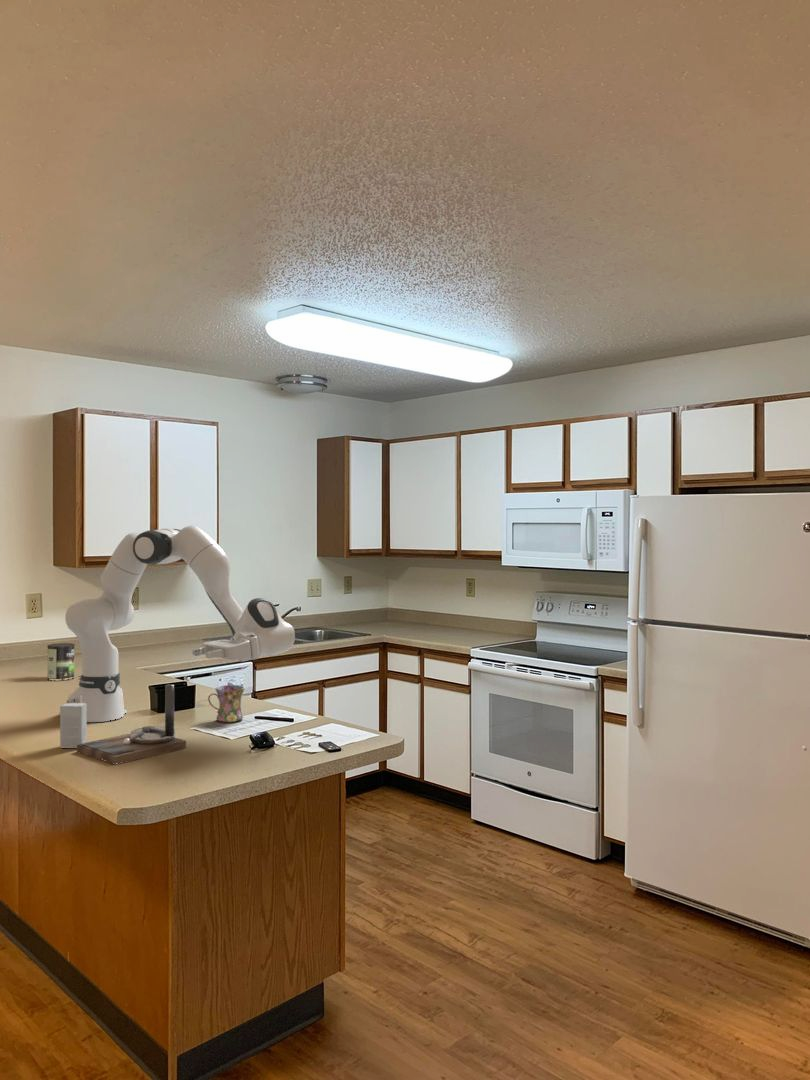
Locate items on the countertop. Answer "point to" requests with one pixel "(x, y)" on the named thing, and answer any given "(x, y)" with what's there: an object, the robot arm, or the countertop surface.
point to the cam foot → (157, 732)
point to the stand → (126, 748)
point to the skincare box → (73, 725)
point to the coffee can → (60, 660)
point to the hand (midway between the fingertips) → (199, 654)
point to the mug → (229, 702)
